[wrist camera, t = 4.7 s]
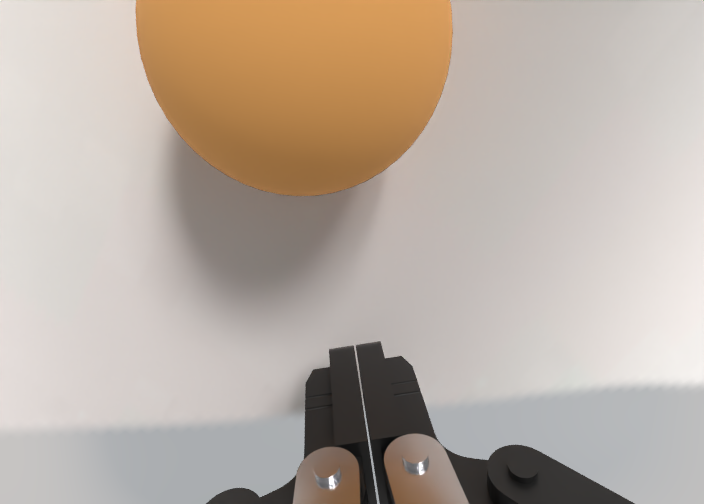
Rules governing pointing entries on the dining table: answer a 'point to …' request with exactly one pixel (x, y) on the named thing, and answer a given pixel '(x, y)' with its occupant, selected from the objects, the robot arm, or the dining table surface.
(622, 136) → the dining table surface
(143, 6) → the ball
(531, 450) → the robot arm
